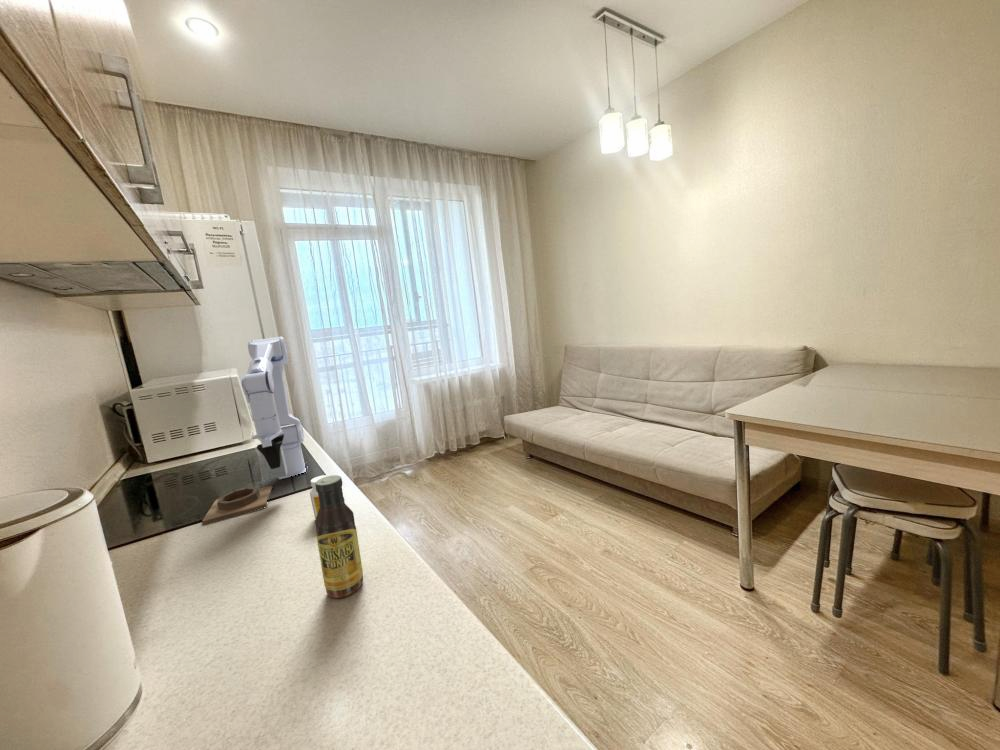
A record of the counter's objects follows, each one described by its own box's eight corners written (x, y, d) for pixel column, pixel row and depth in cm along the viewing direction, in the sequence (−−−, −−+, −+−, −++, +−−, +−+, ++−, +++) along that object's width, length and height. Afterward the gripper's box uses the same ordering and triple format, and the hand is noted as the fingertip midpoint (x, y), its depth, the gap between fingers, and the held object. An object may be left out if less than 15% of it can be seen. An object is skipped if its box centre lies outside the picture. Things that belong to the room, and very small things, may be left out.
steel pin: (271, 474, 108) (265, 447, 106) (287, 470, 109) (281, 443, 108) (269, 479, 104) (263, 451, 103) (286, 475, 105) (280, 447, 104)
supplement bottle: (343, 512, 95) (336, 475, 94) (324, 523, 91) (315, 485, 89) (330, 508, 98) (323, 472, 97) (310, 519, 94) (302, 481, 92)
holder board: (217, 502, 111) (214, 492, 110) (272, 488, 116) (270, 478, 116) (202, 524, 98) (200, 513, 97) (266, 507, 103) (263, 497, 103)
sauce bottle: (323, 605, 64) (299, 492, 61) (329, 581, 70) (307, 477, 67) (365, 593, 65) (343, 483, 62) (367, 571, 71) (347, 469, 68)
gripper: (252, 414, 109) (263, 460, 111) (243, 426, 96) (255, 478, 98) (281, 409, 111) (291, 454, 114) (275, 420, 98) (286, 470, 101)
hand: (276, 465), depth 106 cm, fingers closed on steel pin, 4 cm apart
